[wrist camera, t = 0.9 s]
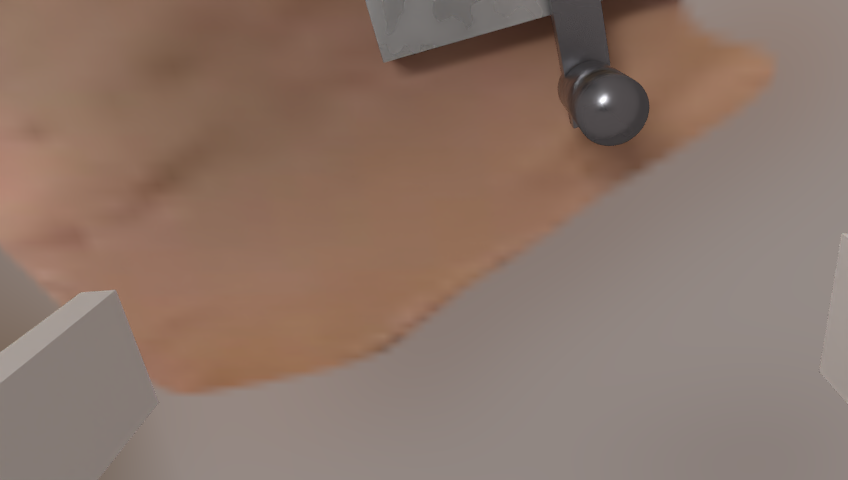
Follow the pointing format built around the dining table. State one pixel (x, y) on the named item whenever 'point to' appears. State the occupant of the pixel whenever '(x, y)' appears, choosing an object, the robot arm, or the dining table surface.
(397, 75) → the dining table surface
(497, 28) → the cap plate
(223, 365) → the dining table surface
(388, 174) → the dining table surface
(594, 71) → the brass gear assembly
